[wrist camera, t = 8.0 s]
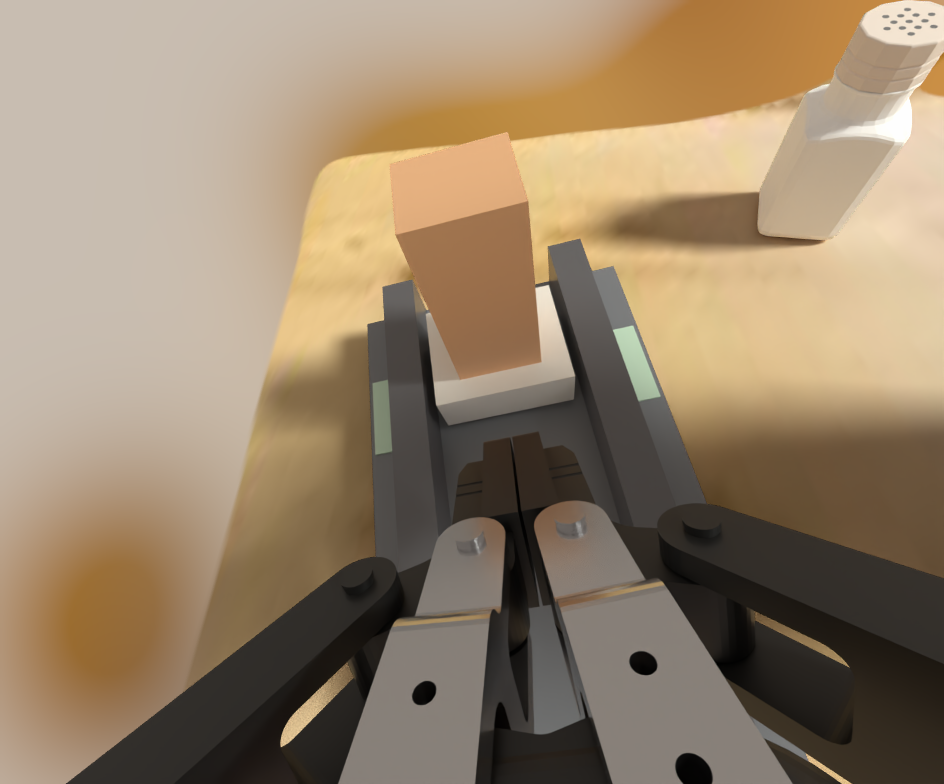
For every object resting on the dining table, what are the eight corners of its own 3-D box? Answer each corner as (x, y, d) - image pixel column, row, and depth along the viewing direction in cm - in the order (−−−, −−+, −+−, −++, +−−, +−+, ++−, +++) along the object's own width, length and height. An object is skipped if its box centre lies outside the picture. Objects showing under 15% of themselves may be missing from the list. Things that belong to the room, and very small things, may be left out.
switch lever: (574, 399, 20) (584, 215, 11) (448, 425, 21) (353, 273, 11) (549, 314, 22) (540, 101, 13) (437, 339, 23) (351, 153, 14)
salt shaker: (756, 190, 26) (846, -3, 18) (833, 194, 25) (968, -11, 17) (752, 239, 25) (849, 53, 17) (834, 245, 24) (983, 49, 15)
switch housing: (793, 777, 15) (878, 840, 11) (405, 822, 16) (353, 892, 12) (609, 290, 25) (618, 229, 21) (380, 343, 27) (347, 295, 23)
